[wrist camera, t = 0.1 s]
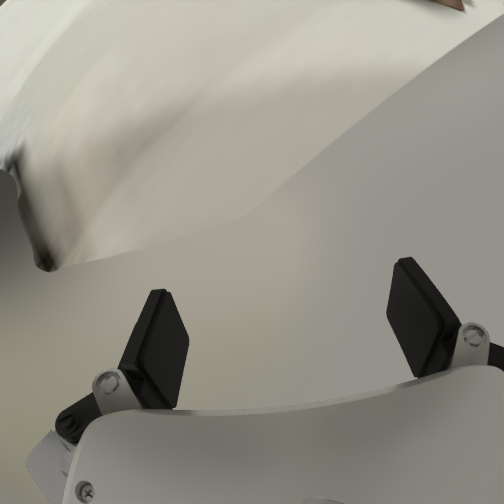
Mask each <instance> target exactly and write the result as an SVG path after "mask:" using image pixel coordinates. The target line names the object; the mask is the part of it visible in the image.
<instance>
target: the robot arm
mask: <svg viewBox="0 0 504 504" xmlns="http://www.w3.org/2000/svg"><path fill="white" fill-rule="evenodd" d="M386 314H387V318H388V321H389V323H390V325H391V327H392V329H393V331H394V333H395V335H396V337H397V339H398V342H399V344H400V346H401V348H402V350H403V352H404V355H405V357H406V359H407V362H408V364H409V366H410V368H411V371H412V373H413V375H414V377H418V379H415V380H412V381H408V382H405V383H401V384H397V385H394V386H390V387H386V388H383V389H378V390H374V391H370V392H365V393H360V394H356V395H351V396H346V397H341V398H335V399H329V400H324V401H317V402H310V403H303V404H296V405H287V406H277V407H266V408H253V409H235V410H172V409H173V408H175V407H176V405H177V401H178V396H179V390H180V385H181V380H182V376H183V371H184V366H185V361H186V356H187V352H188V347H189V336H188V334H187V331H186V329H185V327H184V324H183V322H182V320H181V317H180V315H179V312H178V310H177V307H176V305H175V302H174V300H173V297H172V295H171V293H170V292H167V291H166V290H165V289H157V290H152V291H151V292H150V294H149V296H148V299H147V301H146V303H145V305H144V307H143V310H142V312H141V314H140V317H139V319H138V321H137V323H136V325H135V327H134V329H133V331H132V334H131V336H130V338H129V341H128V343H127V346H126V348H125V351H124V353H123V356H122V358H121V361H120V363H119V366H118V368H117V369H116V368H108V369H105V370H103V371H101V372H100V373H99V374H98V375H97V376H96V377H95V379H94V381H93V384H92V390H93V392H92V393H91V394H89V395H87V396H86V397H84V398H83V399H81V400H80V401H78V402H76V403H75V404H73V405H71V406H70V407H68V408H67V409H65V410H63V411H62V412H61V413H60V414H59V415H58V417H57V419H56V422H55V428H56V430H55V431H53V430H50V432H49V433H48V434H47V435H46V436H45V437H44V438H43V439H42V440H41V441H40V442H39V443H38V445H37V446H36V447H35V448H34V449H33V450H32V451H31V452H30V453H29V455H28V456H27V459H26V467H27V470H28V472H29V473H30V474H31V476H32V478H33V479H34V481H35V482H36V484H37V485H38V487H39V488H40V490H41V491H42V492H43V494H44V495H45V496H46V498H47V499H48V501H49V502H50V503H51V504H504V347H502V346H499V345H496V344H493V343H491V342H490V336H489V334H488V331H487V330H486V329H485V328H484V327H483V326H482V325H480V324H478V323H474V322H468V323H465V324H463V325H462V324H461V323H460V321H459V319H458V317H457V316H456V314H455V313H454V311H453V310H452V308H451V307H450V306H449V304H448V303H447V302H446V300H445V299H444V297H443V296H442V295H441V293H440V292H439V291H438V289H437V288H436V286H435V285H434V284H433V283H432V281H431V280H430V279H429V278H428V276H427V275H426V274H425V272H424V271H423V270H422V269H421V267H420V266H419V265H418V264H417V263H416V261H415V260H414V259H413V258H412V257H406V258H400V259H399V260H398V262H397V263H395V265H394V270H393V277H392V283H391V289H390V295H389V300H388V306H387V311H386Z"/></svg>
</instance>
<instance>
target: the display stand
mask: <svg viewBox="0 0 504 504" xmlns="http://www.w3.org/2000/svg"><path fill="white" fill-rule="evenodd" d="M430 1H433V2H437V3H440V4H443V5H446V6H449V7H451V8H454V9H457V10H459V11H463V10H464V9H463V5H462V2H461V0H430Z"/></svg>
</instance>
